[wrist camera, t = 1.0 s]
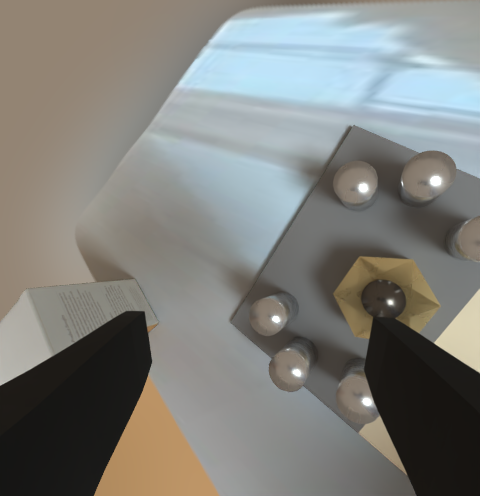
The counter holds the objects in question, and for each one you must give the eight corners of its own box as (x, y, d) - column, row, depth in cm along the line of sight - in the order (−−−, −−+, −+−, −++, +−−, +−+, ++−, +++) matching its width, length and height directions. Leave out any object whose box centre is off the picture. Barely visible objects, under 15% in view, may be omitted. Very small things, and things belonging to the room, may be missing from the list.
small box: (115, 362, 31) (-1, 410, 21) (94, 317, 33) (-23, 344, 23) (161, 323, 28) (52, 358, 19) (136, 276, 30) (23, 287, 20)
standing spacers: (521, 212, 16) (561, 201, 13) (354, 416, 20) (349, 451, 17) (370, 145, 20) (368, 121, 16) (251, 329, 24) (228, 342, 20)
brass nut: (448, 281, 18) (458, 285, 16) (391, 351, 19) (393, 365, 17) (373, 238, 20) (373, 236, 17) (326, 305, 21) (320, 311, 19)
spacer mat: (712, 280, 14) (721, 281, 13) (461, 518, 18) (463, 523, 17) (354, 127, 21) (353, 125, 20) (232, 321, 25) (230, 322, 24)
